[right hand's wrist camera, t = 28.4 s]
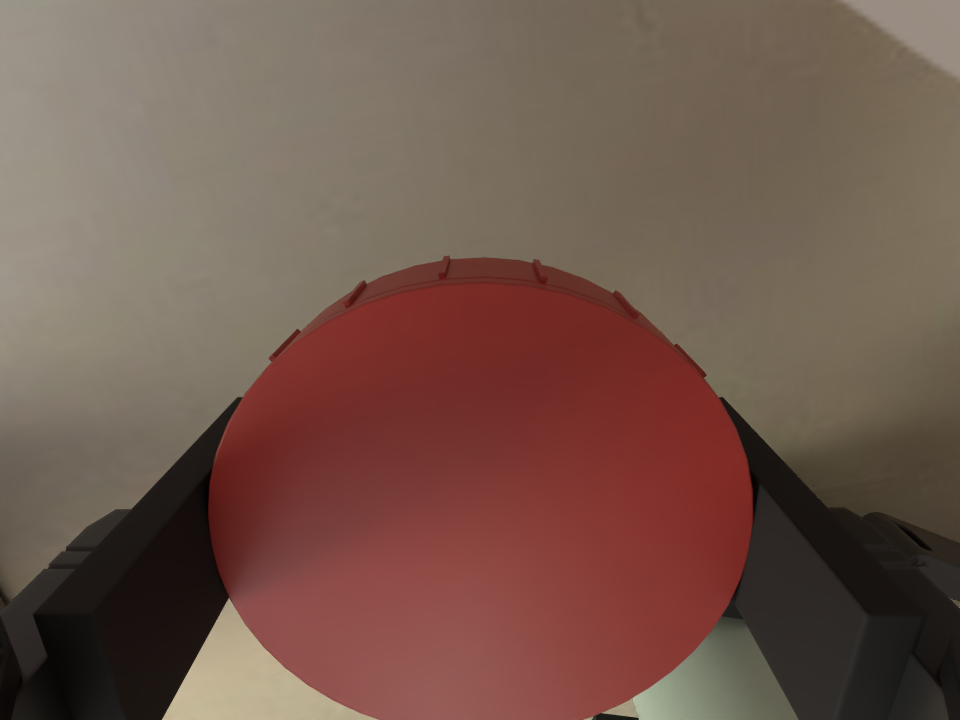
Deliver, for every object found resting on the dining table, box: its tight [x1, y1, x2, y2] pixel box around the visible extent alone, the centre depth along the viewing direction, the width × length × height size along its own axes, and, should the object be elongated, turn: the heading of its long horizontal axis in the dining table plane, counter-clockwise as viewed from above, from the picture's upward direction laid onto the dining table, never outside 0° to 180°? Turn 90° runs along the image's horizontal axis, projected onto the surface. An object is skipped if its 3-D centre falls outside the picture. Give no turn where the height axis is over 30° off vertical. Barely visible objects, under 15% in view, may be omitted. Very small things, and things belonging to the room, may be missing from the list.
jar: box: [633, 616, 798, 720], centre depth 22 cm, size 9×9×16 cm
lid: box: [208, 256, 754, 720], centre depth 11 cm, size 10×10×2 cm
